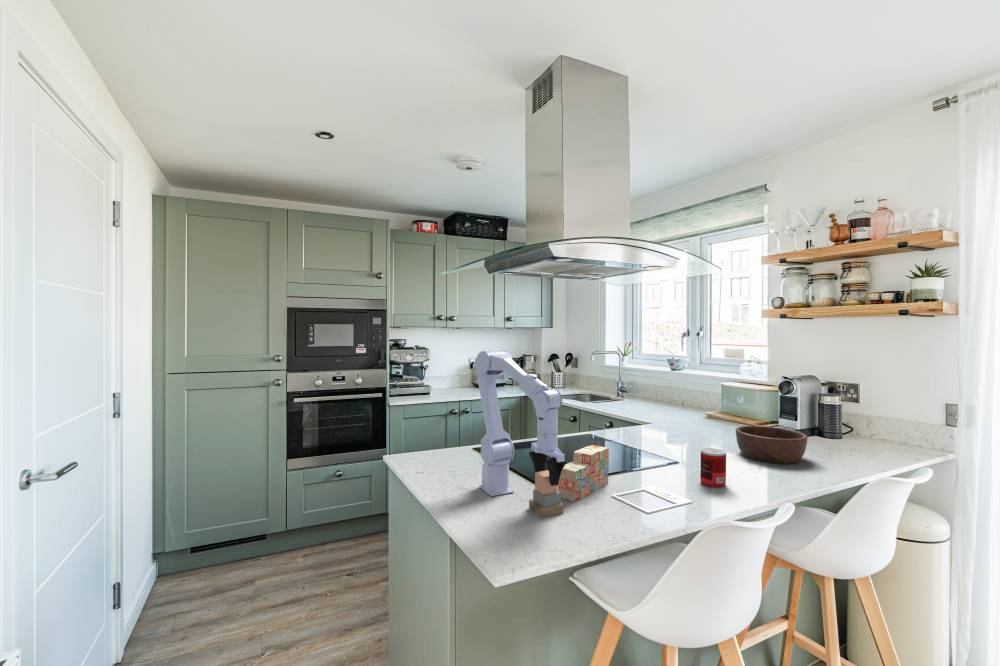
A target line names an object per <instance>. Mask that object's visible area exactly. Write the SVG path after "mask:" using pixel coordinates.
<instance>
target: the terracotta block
mask: <svg viewBox="0 0 1000 666" xmlns="http://www.w3.org/2000/svg"><path fill="white" fill-rule="evenodd" d="M534 480H535V481H534V490H536V491H538V492H539V493H541V494H543V495H547V494H552V493H557V491H558V485H554V486H551V485H550V479H549V470H548V469H547V470H546V469H545V471H540V472H535V471H534Z"/></svg>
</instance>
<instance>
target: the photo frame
mask: <svg viewBox="0 0 1000 666" xmlns="http://www.w3.org/2000/svg"><path fill="white" fill-rule="evenodd" d="M645 491H646V493H647V494H651V495H652V494H653V495H652V496H655V497H658V498H660V499H663V500H665V501H668V502H670V503H672V504H671V505H667V506H666V505H665V506H663V507H659V508H654V509H651V510H650V509H649V510H647V509H644V508H642V507H641V506H639V505H636V504H634V503H632V502H630V501H628V500H626V499H623V498H621V496H625V495H626V494H627V495H631V494H636V493H640V492H645ZM627 495H626V496H627ZM611 497H612V498H613V499H615V500H617V501H620V502H622V503H623V504H625V505H626V504H627V505H628V506H630V507H633V508H634V509H636V510H638V511H640V512H643V513H645V514H647V515H650V514H652V513H653V514H654V513H658V512H661V511H666V510H670V509H673V508H677V507H682V506H685V505H689V504H692V503H693V500H691V499H687V498H685V497H684V496H680V495H679V494H678V495H677V494H676V493H673V492H670V491H668V490H666V489H663V488H660V487H658V486H655V485H653V486H647V487H643V488H638V489H634V490H633V489H632V490H629V491H624V492H623V491H622V492H620V493H619V492H618V493H614V494H611Z"/></svg>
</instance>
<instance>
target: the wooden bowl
mask: <svg viewBox="0 0 1000 666" xmlns="http://www.w3.org/2000/svg"><path fill="white" fill-rule="evenodd" d="M735 436H736V443H737V446H738V448H739V451H740V453H741V454H742V455H744V456H745V457H747V458H749V459H752V460H756V461H760V462H763V463H769V464H770V463H772V464H795V463H798V462H799V461H801V460H802V458H803V457H804V455H805V453H806V449H807V445H808V435H807V434H805V433H803V432H802V431H799V430H798V431H796V430H793V429H789V428H784V427H777V426H770V425H769V426H767V425H742V426H738V427H736V428H735Z"/></svg>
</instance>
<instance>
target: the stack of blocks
mask: <svg viewBox="0 0 1000 666" xmlns="http://www.w3.org/2000/svg"><path fill="white" fill-rule="evenodd" d="M609 451H610V448H609V447H605V446H599V445H594V444H591V445H587V446H584V447H582V448H580V449H577V450H574V451H573V461H570V462H568V463H566V465H565V466H564V468H563V470H562V472H561V475H560V479H559V483H558V485H557V491H558V492H560V493H561V499H564V500H567V501H570V502H573V503H575V502H578V501H579V500H581V499H583V498H585V497H587V496H589V495H591V494H592V493H594V492H596V491H598V490H600V489H602V488H604V487H606V486H608V485H609V465H610V464H609V462H610V461H609V459H610V457H609V453H610V452H609Z"/></svg>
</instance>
